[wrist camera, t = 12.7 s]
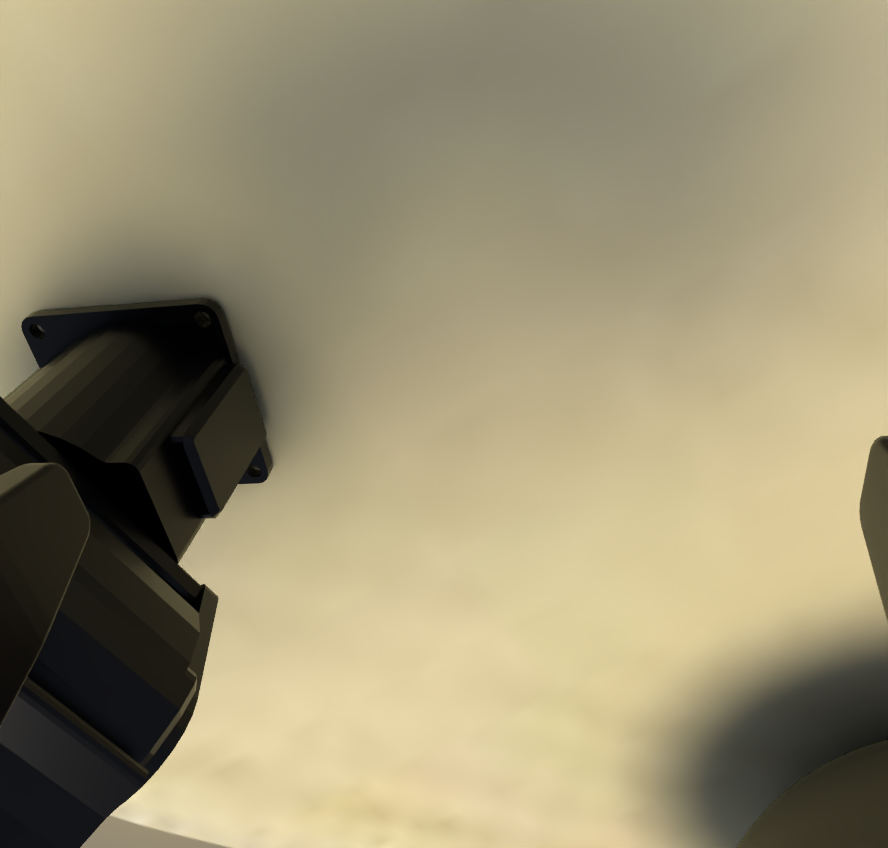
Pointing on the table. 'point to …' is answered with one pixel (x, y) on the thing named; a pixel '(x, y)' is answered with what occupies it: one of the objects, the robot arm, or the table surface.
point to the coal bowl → (830, 806)
